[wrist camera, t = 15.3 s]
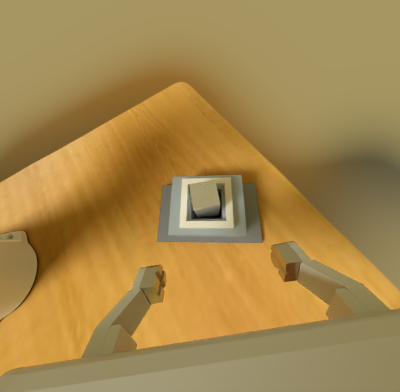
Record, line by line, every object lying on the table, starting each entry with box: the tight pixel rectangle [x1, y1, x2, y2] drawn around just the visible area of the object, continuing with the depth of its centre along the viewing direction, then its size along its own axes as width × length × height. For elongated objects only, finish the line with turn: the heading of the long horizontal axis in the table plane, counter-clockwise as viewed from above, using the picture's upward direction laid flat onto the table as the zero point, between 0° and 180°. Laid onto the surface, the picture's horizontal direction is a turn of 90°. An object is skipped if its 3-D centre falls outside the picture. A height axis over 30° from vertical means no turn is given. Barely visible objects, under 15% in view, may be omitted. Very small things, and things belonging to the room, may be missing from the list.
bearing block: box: [157, 175, 262, 243], centre depth 26 cm, size 20×12×7 cm, turn 89°
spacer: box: [179, 177, 234, 229], centre depth 23 cm, size 8×8×1 cm
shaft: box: [189, 180, 220, 219], centre depth 24 cm, size 4×4×11 cm
